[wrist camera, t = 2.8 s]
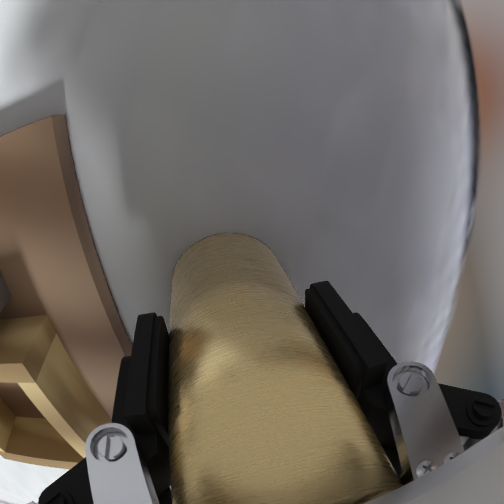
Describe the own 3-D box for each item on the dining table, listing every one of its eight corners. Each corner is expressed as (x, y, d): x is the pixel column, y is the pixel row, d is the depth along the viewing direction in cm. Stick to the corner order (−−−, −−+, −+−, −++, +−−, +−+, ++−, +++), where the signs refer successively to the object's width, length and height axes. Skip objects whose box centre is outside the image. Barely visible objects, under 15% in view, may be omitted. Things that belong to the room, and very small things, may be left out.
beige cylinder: (283, 316, 14) (375, 519, 5) (185, 335, 14) (207, 559, 5) (277, 224, 12) (438, 454, 3) (160, 243, 12) (136, 529, 3)
